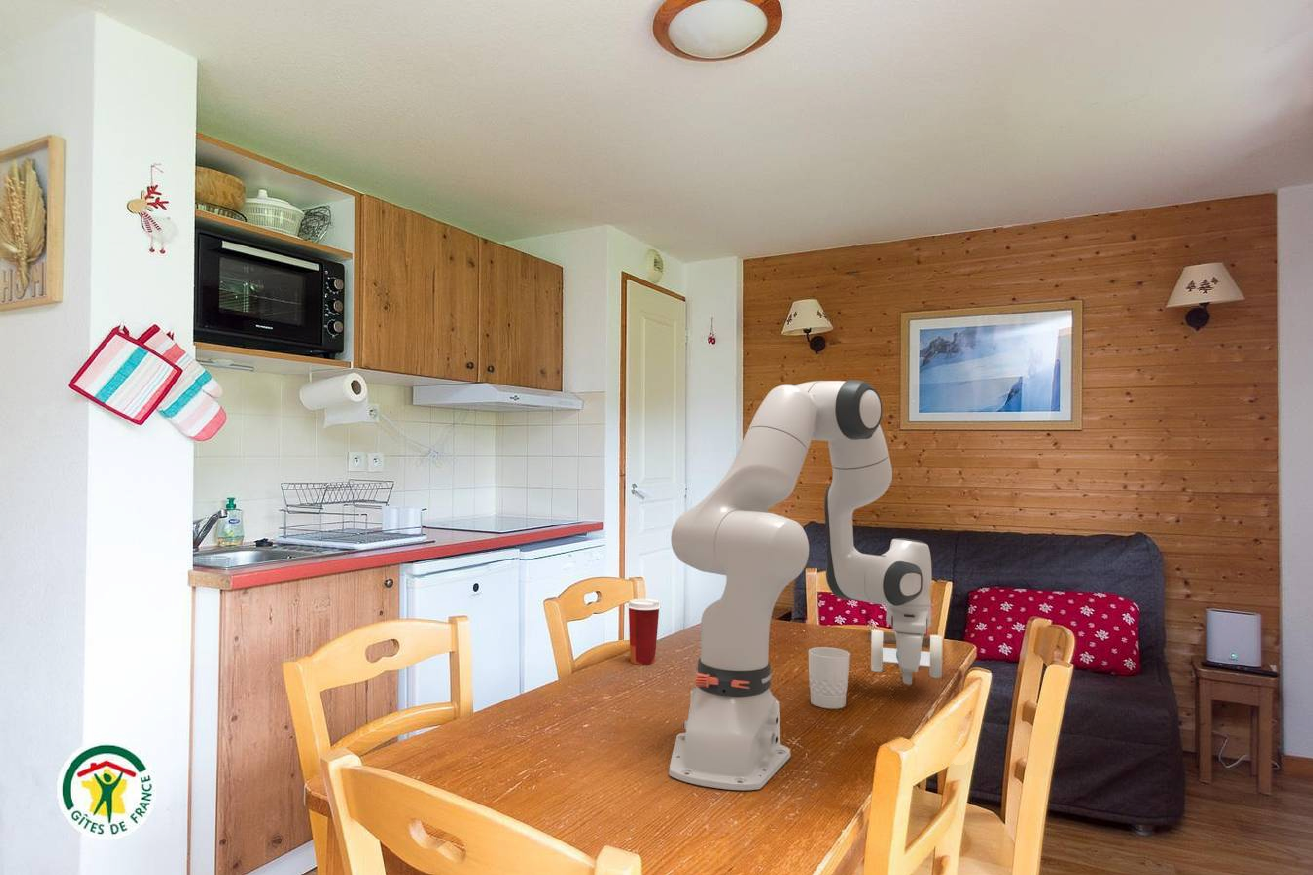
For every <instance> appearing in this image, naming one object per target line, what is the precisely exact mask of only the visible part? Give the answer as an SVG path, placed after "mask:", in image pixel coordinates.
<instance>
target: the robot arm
mask: <svg viewBox="0 0 1313 875" xmlns="http://www.w3.org/2000/svg"><path fill="white" fill-rule="evenodd" d="M882 418H883V402H882V399H881V396H880V394H879V392H878V391H877V390H876V389H875V388H874V386H873V385H871V383H869V382H866V381H863V380H862V381H861V380H854V379H850V380H847V381H842V380H835V381H834V380H831V381H830V380H826V381H825V380H818V381H817V380H816V381H809V382H804V383H800V384H799V383H798V384H796V383H793V384H781V385H778V386H776V387H773V388H772V389H771V390H770V391H769V392H768V393H767V395H766V397H764V399H763V400H762V402H761V404H760V405H759V407H758V409H757V410H756V412H755V414H754V416H753V418H752V420H751V421H750V424H749V425H748V426H749V427H748V428H747V431H746V434H745V436H744V438H743V440H742V443H741V445H740V447H739V450H738V451H737V453H736V456H735V458H734V461H733V463H732V465H731V466H730V468H729V470H728V471H727V473H726V474H725V476H724V477H723V478H722V479H721V481H720V482H719V483H718V485H716V486H715V488H713V490H712V491H711V492H710V493H709V494H708V495H707V496H706V497H705V498H704V499H702V501H701V502H699V503H698V504H696V505H695V506H693V507H692V508H690V509H687V510H686V511H684V512H683V513H681V514H680V515H679V516H678V518H677V519H676V520H675V523H673V524H674V525H673V527H672V530H671V546H672V550H673V553H674V555H675V556H676V558H677V559H678V560H679V561H680V562H682V563H684V564H685V565H688V566H689V567H691V568H693V569H696V570H698V571H701V572H704V573H705V572H706V573H709V574H711V573H712V574H717V575H722V576H725V578H726V579H725V582H726V583H725V587H724V590H723V593H722V595H721V597H720V598H719V599H717V600H715V601H713V602H712V603H711V604H710V605H708V606H707V607H706V608H705V609H704V611H703V613H702V616H701V622H700V624H701V627H700V634H701V635H700V658H699V659H698V660H697V667H696V672H695V674H696V680H695V685H696V686H695V687H694V688H693V689H692V690H690V703H689V710H688V714H687V715H688V716H687V719H685V720H684V721H683V725H682V726H683V728H684V730H685V732H680V733H678V734H677V735H676V738H675V742H674V746H673V751H672V756H671V761H670V765H669V771H668V774H669V776H670V777H671V778H675V779H677V780H679V781H682V782H684V783H689V784H692V785H697V786H702V787H707V788H714V789H722V790H731V791H754V790H760V789H762V788H763V787H764V786H765V785H766V783H768V781H770V779H771V778H772V777H773V776H774V775H776V773H777V772H778V771H779V770H780V769H781V768H782V767H783V766H784V765H785V763H787V761H789V759H790V758H791V749H790V748H789V747H787V746H785V745H782V744H781V727H780V725H781V724H780V723H781V718H780V711H781V710H780V702H779V700H778V699H777V698H776V697H775V696H774V695H773V693H772V692H771V689H770V688H771V683H772V681H771V680H772V669H771V667H772V666H771V663H770V662H769V647H770V631H771V630H770V629H771V620H772V616H773V613H774V609H775V605H776V603H777V601H778V600H779V597H780V595H781V593H782V592H783V591H784V589H785V588H786V586H788V585H789V584H790V583H792V582H793V581H794V580H795V579H797V578H798V577H799V575H801V574H802V572H803V571H804V569H805V568H806V565H807V564H808V561H809V556H810V543H809V539H808V535H807V533H806V531H805V529H804V527H803V526H802V525H801V524H800V522H797V521H795V520H794V519H790V518H788V517H786V516H783V515H778V514H776V513H773V512H767V511H768V510H770V508H772V507H773V506H775V505H777V504H778V503H781V502H783V501H784V500H786V499H787V498H788V497H790V496H791V494H792V493H793V491H794V490H795V488H796V485H797V481H798V478H799V477H800V474H801V471H802V469H803V466H804V464H805V460H806V458H807V456H808V452H809V449H810V447H811V443H812V440H813V441H820V442H821V441H822V442H828V450H829V457H830V464H831V470H832V481H831V483H830V484H829V485H828V486H827V488H826V490H825V494H824V500H823V501H824V502H823V504H824V508H823V509H824V523H825V524H824V525H825V526H824V527H825V539H826V540H825V541H826V567H825V580H826V583H827V586H828V588H829V590H830V591H831V593H832V594H833V595H834V596H835V597H836V598H838V599H840V600H851V601H860V602H861V601H862V602H866V603H871V604H874V605H877V604H879V605H884V606H886V620H885V621H886V622H885V623H887V624H888V625H890V627H891V628H892V631H893V633H895V636H896V644H895V645H896V649H897V654H898V668H899V671H902V683H903V684H904V685H912V684H913V675H914V674H913V673H918V672H919V670H920V666H919V665H920V658H921V651H922V650H923V649H922V648H923V647H922V642H923V635H926V634H927V630H928V628H931V626H932V621H931V620H932V600H931V596H930V588H931V586H932V558H931V552H930V548H929V546H928V544H927V543H925V542H924V541H921V540H917V539H911V538H903V537H900V538H899V537H898V538H897V537H896V538H893V539H891V541H890V546H889V549H888V551H886V552H885V553H884V554H881V555H873V554H868V553H867V554H865V553H861V552H859V551H858V550H857V549H856V548H855V546H854V535H853V534H854V533H853V529H854V528H853V513H854V510H856V509H859V508H862V507H865V506H867V505H869V504H871V503H873V502H875V501H877V500H878V499H880V497H882V496H884V494H886V492H887V490H888V489H889V487H890V486H891V483H892V479H893V470H892V464H891V460H890V455H889V450H888V445H887V441H886V437H885V434H884V432H883V428H882V426H881V422H882Z"/></svg>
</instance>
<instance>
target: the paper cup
mask: <svg viewBox="0 0 1313 875" xmlns="http://www.w3.org/2000/svg"><path fill="white" fill-rule="evenodd" d="M626 606H627V608H628V621H629V622H628V626H629V654H630V658H629V660H630V663H631V664H632V665H635V666H637V665H638V666H650V665H653V664H654V663H655V660H656V654H657V652H656V651H657V643H658V642H657V640H658V631H659V630H658V626H659V615H660V609H661V607H662V606H661V605H660V601H659V600H657V599H655V598H647V597H646V598H641V597H640V598H633V599H630V601H629V602H628V604H627V605H626Z"/></svg>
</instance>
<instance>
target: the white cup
mask: <svg viewBox="0 0 1313 875" xmlns="http://www.w3.org/2000/svg"><path fill="white" fill-rule="evenodd" d="M850 653H851V652H848V650H845V649H841V648H838V647H837V648H836V647H828V646H820V647H819V646H817V647H812V648H809V649H808V672H809V673H808V674H809V675H808V676H809V688H810V703H811V704H812V705H813V706H816V707H819V708H822V709H828V710H829V709H830V710H831V709H835V710H836V709H842V708H844V707H846V703H847V692H848V685H849V676H850V675H849V674H850V658H851V654H850Z"/></svg>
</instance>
